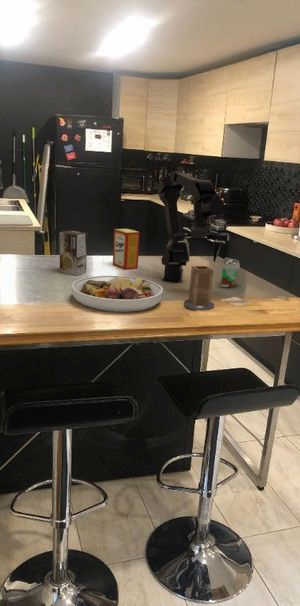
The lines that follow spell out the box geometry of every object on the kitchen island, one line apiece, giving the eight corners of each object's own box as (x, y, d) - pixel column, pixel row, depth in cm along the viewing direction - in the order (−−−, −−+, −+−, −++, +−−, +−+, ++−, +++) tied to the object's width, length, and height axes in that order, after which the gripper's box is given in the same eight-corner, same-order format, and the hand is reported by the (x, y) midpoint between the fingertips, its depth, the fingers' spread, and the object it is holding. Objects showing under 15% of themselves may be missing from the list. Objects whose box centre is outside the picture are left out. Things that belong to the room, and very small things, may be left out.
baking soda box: (112, 265, 214) (114, 228, 210) (125, 263, 218) (126, 227, 213) (125, 269, 207) (126, 231, 202) (137, 268, 211) (139, 231, 206)
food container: (236, 291, 185) (239, 265, 182) (220, 289, 186) (223, 263, 184) (237, 283, 197) (240, 259, 194) (222, 281, 198) (225, 257, 195)
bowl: (61, 291, 172) (62, 269, 169) (141, 287, 184) (142, 266, 181) (86, 318, 146) (86, 293, 143) (177, 312, 157) (179, 288, 155)
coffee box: (86, 273, 197) (88, 232, 193) (76, 275, 192) (77, 234, 188) (69, 269, 202) (70, 229, 197) (58, 271, 197) (59, 231, 192)
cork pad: (219, 301, 171) (219, 299, 171) (235, 298, 176) (235, 296, 176) (237, 307, 165) (237, 306, 165) (252, 304, 170) (252, 302, 170)
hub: (179, 308, 160) (181, 293, 159) (188, 300, 169) (190, 286, 168) (209, 313, 157) (211, 298, 155) (217, 305, 166) (218, 291, 164)
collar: (188, 300, 165) (191, 265, 161) (204, 300, 166) (207, 266, 162) (193, 306, 159) (196, 269, 156) (209, 305, 161) (213, 270, 157)
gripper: (170, 216, 167) (170, 262, 169) (225, 215, 162) (224, 263, 164) (177, 217, 178) (177, 261, 180) (229, 216, 173) (228, 261, 175)
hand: (201, 261), depth 174 cm, fingers open, 9 cm apart
